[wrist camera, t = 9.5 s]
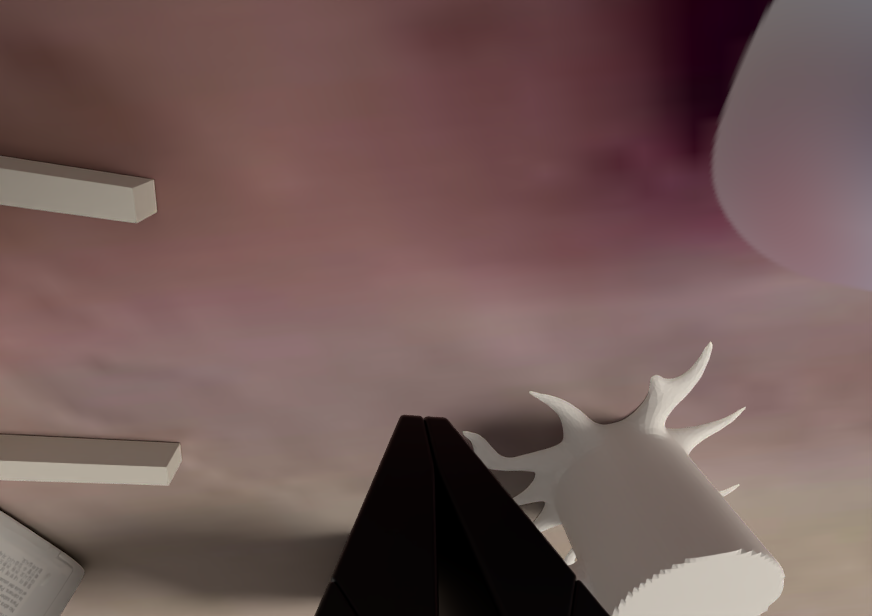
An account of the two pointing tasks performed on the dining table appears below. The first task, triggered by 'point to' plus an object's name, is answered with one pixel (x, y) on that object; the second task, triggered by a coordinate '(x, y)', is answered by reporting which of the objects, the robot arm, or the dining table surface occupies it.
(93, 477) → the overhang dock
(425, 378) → the dining table surface
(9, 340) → the dining table surface
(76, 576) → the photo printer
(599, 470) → the tree stump
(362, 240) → the dining table surface
